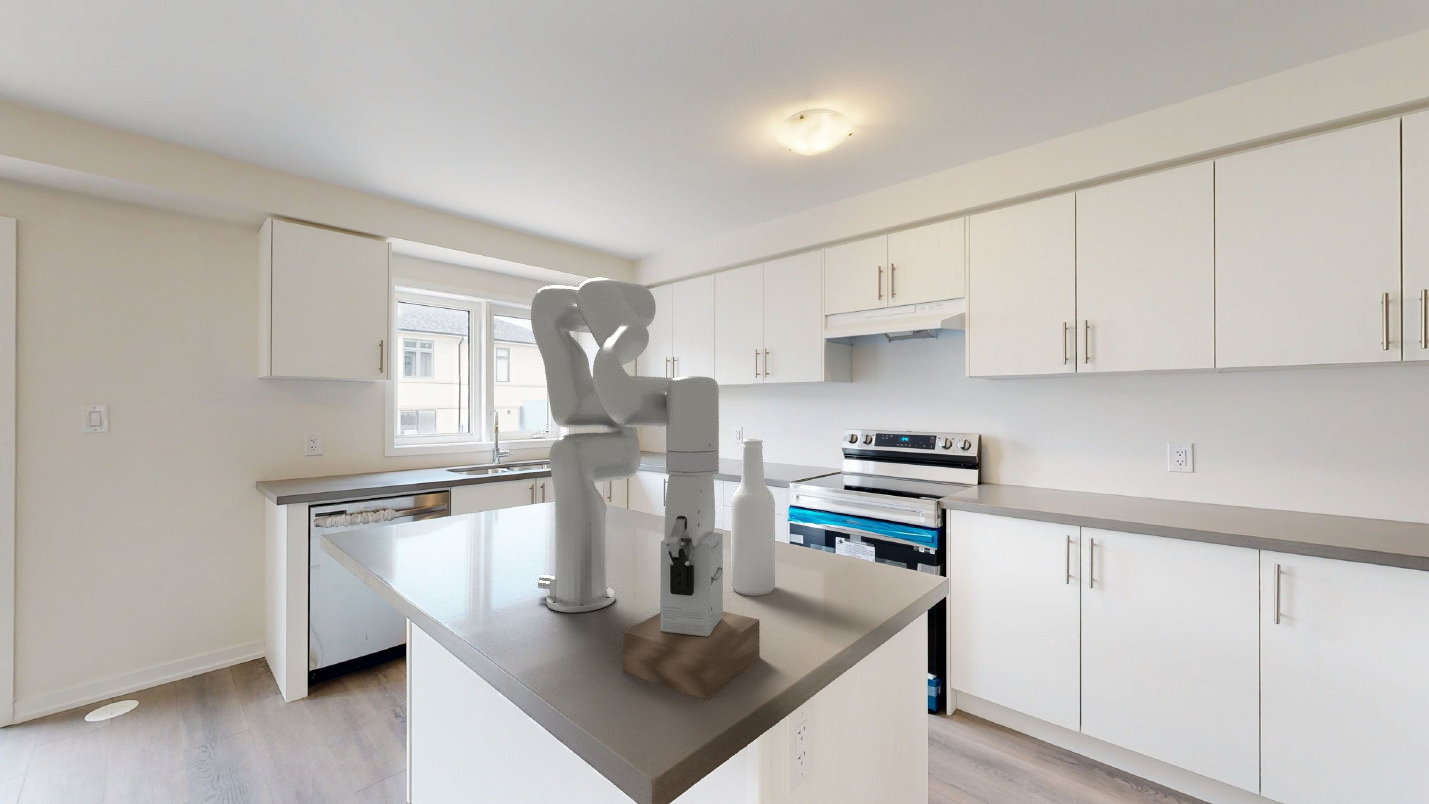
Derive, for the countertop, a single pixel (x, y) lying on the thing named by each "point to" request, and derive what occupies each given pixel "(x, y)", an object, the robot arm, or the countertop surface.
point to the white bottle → (753, 527)
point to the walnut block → (692, 654)
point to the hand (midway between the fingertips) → (692, 583)
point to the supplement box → (707, 600)
